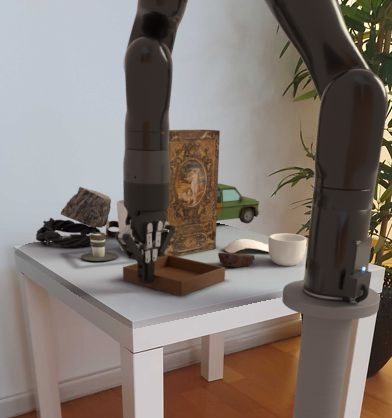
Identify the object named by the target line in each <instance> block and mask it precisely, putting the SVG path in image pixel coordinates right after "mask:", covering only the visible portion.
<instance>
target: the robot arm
mask: <svg viewBox="0 0 392 418" xmlns="http://www.w3.org/2000/svg"><path fill="white" fill-rule="evenodd" d="M188 1H189V0H137V4H136V13H135V16H134V19H133V24H132V27H131V31H130V35H129V37H128V42H127V45H126V49H125V54H124V57H123V71H124V79H125V81H124V82H125V103H126V111H125V117H124V153H123V154H124V155H123V163H122V173H123V177H122V178H123V179H122V181H123V184H122V185H123V186H122V187H123V188H122V189H123V200H124V207H125V208H126V210H127V217H126V220H125V224H126V226H125V228H124V229H123V230H122V232H117V231H115V232H116V233H115V238H114V239H115V240H116V241H117V242H118V244H119V247H120V246H121V247H122V249H123V250H124V251H123V252H124V253H125V255H126V256H127V258H128V259H130V260H134V261H136V263H137V271H138V272H137V277H138V280H139V282H140V283H144V284H149V283H152V282H153V280H154V276H155V273H154V272H155V261H156V260H157V258H158V257H162V256H164V255H163V254H164V252H165V250H166V248H167V246H168V244H169V242H170V240H171V238H172V236H173V234H174V232H175V226H174V225H170V224H169V223H168V222H167V221H166V220H167V216H166V213H165V210H167V209H168V208H169V202H170V158H169V130H170V107H171V98H172V88H173V70H174V69H173V68H174V67H173V57H172V55H173V51H174V46H175V42H176V37H177V32H178V29H179V26H180V24H181V23H182V20H183V18H184V16H185V13H186V9H187V5H188ZM339 1H340V0H263V3H264V4H265V6H266V8H267V10H268V11H269V12H270V14H271V16H272V18H273V19H274V20H275V22H276V25H278V27H279V28H280V30H281V31H282V33H283V35H285V37H286V38H287V40H288V41H289V42H290V44H291V46H293V48H294V49H295V50H296V52H297V54H298V55H299V57H300V58H301V60H302V61H303V64H304V65H305V67H306V70H307V72H308V74H309V76H310V78H311V81H312V83H313V86H314V88H315V91H316V93H317V96H318V99H319V102H320V104H319V111H318V118H317V119H318V120H317V129H316V130H317V132H316V143H315V152H314V153H315V154H314V176H313V188H312V195H311V196H312V197H311V207H310V217H309V226H308V236H307V244H306V255H305V267H304V274H303V275H304V276H303V280H304V285H303V289H302V291H303V293H304V294H306V295H308V296H310V297H313V298H316V299H320V300H326V301H341V302H347V303H350V302H352V301H353V300H355V301H356V302H357V303H359V302H361V301H363V300H365V299H366V298H367V296H368V294H369V288H370V286H371V285H370V284H371V278H372V274H373V273H372V271H369V265H370V258H371V250H372V245H373V237H371V236H369V233H370V226H371V219H372V212H373V211H372V210H373V205H374V197H375V190H376V184H377V179H378V173H379V168H380V161H381V153H382V147H383V140H384V135H385V126H386V120H387V113H388V104H389V97H388V91H387V88H386V86H385V84H384V82H383V81H382V79H381V78H380V77H379V76H378V75H377V74H376V73H374V72H373V71H372V69H371V68H370V66H369V64H368V63H367V61H366V60H365V58H364V56H363V55H362V53H361V51H360V50H359V48H358V47H357V45H356V42H355V41H354V39H353V37H352V35H351V32H350V30H349V29H348V27H347V24H346V21H345V18H344V14H343V12H342V8H341V5H340V2H339ZM152 241H153V242H152ZM160 243H161V245H160ZM159 247H160V248H159Z"/></svg>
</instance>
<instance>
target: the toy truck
mask: <svg viewBox="0 0 392 418" xmlns="http://www.w3.org/2000/svg"><path fill="white" fill-rule="evenodd" d="M259 204H260V201H259V200H257V199H256V198H251V197H247V196H243V195H242V194H241V192H239V190H238V189H237V188H236V186H232V185H227V184H223V183H218V194H217V222H218V221H228V220H235V219H236V220H237V219H239V221H240V222H241V223H243V224H250V223H252V222H253V220H254V218H257V217H258V216H259V215H260V210H259Z"/></svg>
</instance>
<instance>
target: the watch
mask: <svg viewBox="0 0 392 418" xmlns="http://www.w3.org/2000/svg"><path fill="white" fill-rule="evenodd" d="M110 228H117V229H119V225H118V220H110V221H109V220H108V222H107V224H106V225H105V235H106V236H108V237H109V238H112V239H113V238H114V239H116V238H115V233H116V232H119V230H118V231H112V230H110Z"/></svg>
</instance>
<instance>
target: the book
mask: <svg viewBox="0 0 392 418" xmlns="http://www.w3.org/2000/svg"><path fill="white" fill-rule="evenodd" d="M220 132H221V130H219V129H169V158H170V202H169V208H168V209H167V210H165V213H166V216H167V220H166V221H167V222H168V223H169V224H170V225H174V226H175V232H174V234H173V236H172V238H171V240H170V242H169V244H168V246H167V248H166V250H165V252H164V254H163V256H166V255H171V256H176V257H179V256H184V255H189V254H193V253H199V252H204V251H208V250H215V249H216V248H217V247H216V246H217V222H218V221H217V194H218V184H219V162H220V161H219V160H220V135H221V133H220ZM152 242H153V241H152ZM160 245H161V243H160ZM159 248H160V247H159Z"/></svg>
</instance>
